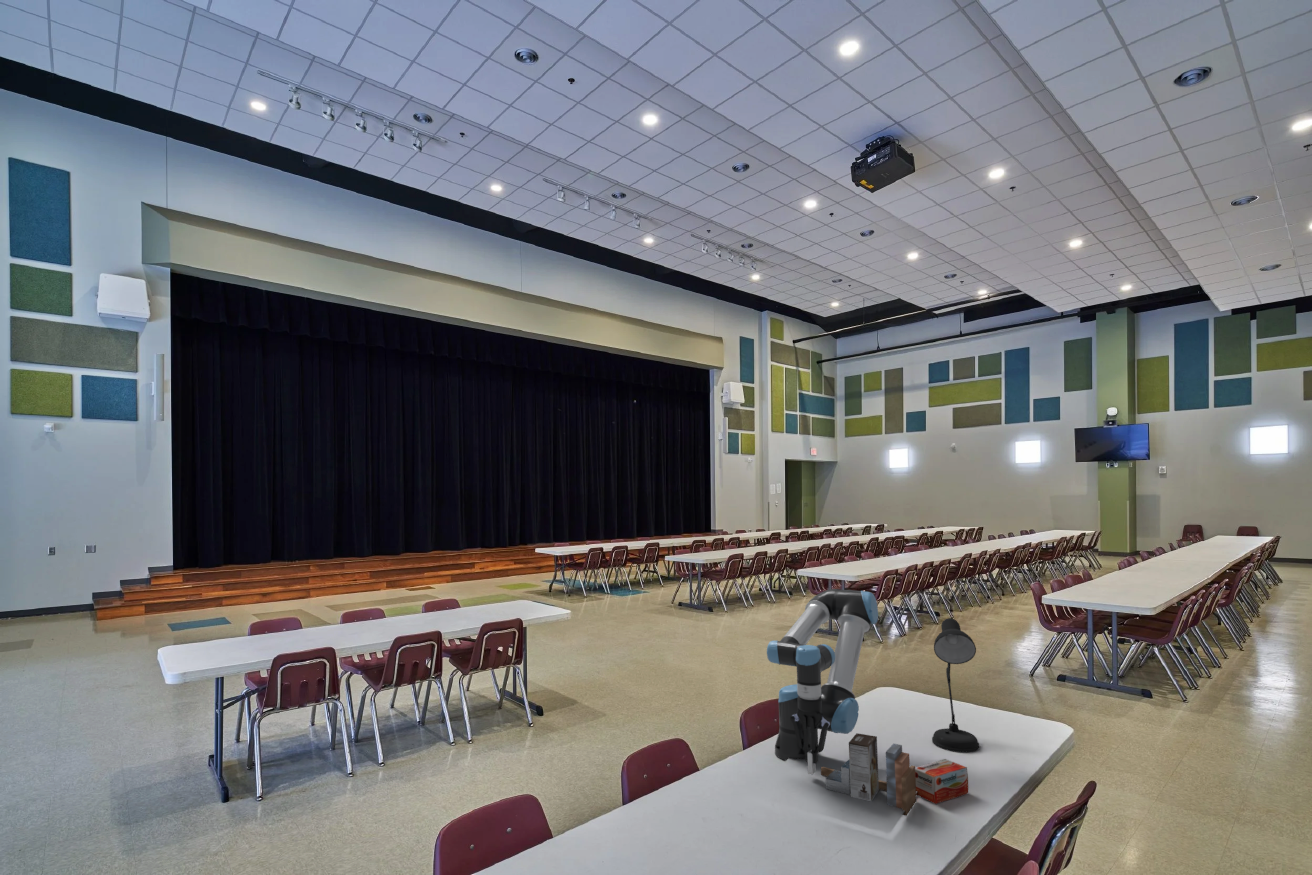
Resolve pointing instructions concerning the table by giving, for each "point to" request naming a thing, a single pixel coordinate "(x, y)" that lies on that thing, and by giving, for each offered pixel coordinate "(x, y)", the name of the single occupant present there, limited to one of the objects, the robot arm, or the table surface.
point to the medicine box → (941, 781)
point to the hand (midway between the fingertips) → (811, 772)
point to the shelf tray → (905, 787)
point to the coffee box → (863, 767)
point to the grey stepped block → (840, 780)
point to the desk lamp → (952, 650)
